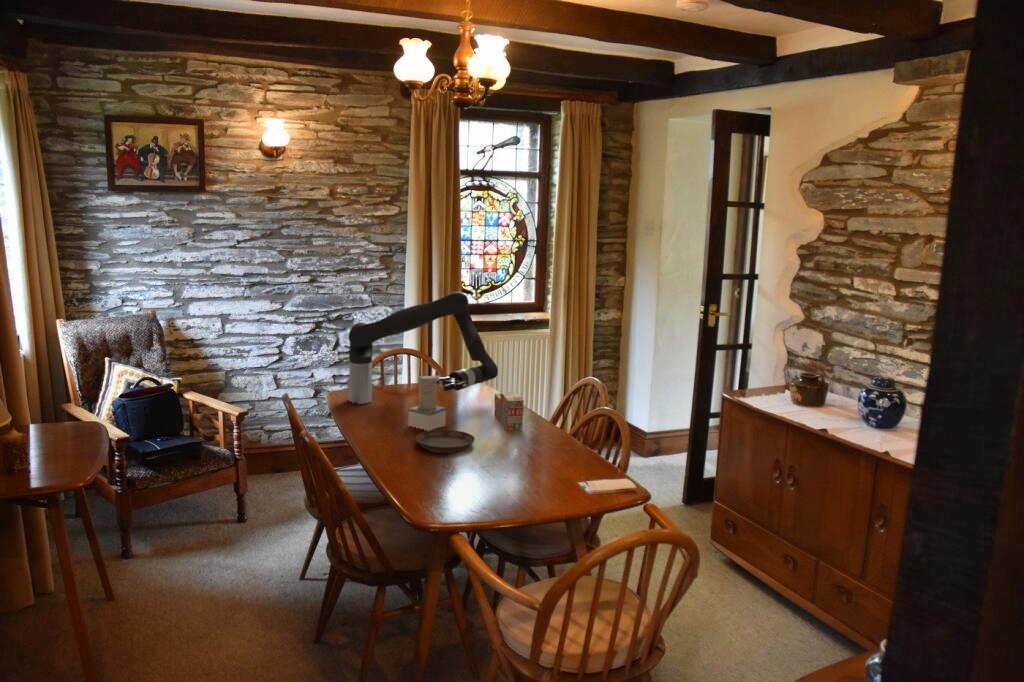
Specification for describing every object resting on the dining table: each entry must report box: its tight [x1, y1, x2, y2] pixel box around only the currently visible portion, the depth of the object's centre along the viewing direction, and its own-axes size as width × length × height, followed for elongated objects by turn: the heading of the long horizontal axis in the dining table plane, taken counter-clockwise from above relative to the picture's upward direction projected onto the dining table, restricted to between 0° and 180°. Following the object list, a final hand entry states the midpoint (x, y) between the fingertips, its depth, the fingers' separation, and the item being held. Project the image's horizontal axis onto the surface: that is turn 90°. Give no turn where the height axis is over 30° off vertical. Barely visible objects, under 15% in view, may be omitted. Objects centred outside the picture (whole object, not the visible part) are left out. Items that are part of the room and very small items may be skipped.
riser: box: [408, 405, 447, 432], centre depth 297 cm, size 10×10×7 cm
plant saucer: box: [415, 429, 476, 454], centre depth 275 cm, size 21×21×3 cm
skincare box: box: [417, 375, 438, 410], centre depth 295 cm, size 6×4×12 cm
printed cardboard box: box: [494, 391, 525, 432], centre depth 305 cm, size 21×6×12 cm, turn 15°
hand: (436, 386), depth 299 cm, fingers open, 8 cm apart
